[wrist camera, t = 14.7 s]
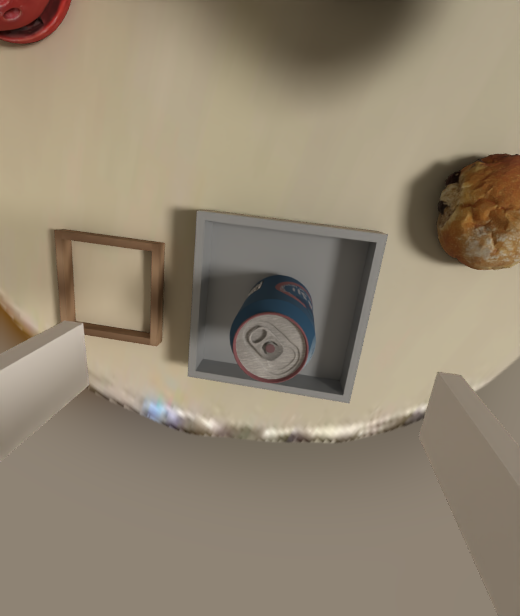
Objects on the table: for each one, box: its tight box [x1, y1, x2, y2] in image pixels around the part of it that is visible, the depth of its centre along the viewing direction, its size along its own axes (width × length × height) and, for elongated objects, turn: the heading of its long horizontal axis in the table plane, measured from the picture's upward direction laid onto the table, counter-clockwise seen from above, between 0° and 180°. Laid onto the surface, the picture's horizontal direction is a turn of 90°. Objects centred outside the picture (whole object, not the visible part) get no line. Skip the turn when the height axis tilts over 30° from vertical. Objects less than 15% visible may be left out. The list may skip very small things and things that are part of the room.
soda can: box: [230, 275, 316, 383], centre depth 31 cm, size 7×7×12 cm
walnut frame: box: [54, 229, 165, 346], centre depth 38 cm, size 12×12×2 cm
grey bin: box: [188, 210, 388, 403], centre depth 35 cm, size 18×18×4 cm
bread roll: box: [437, 154, 520, 270], centre depth 30 cm, size 10×10×8 cm
